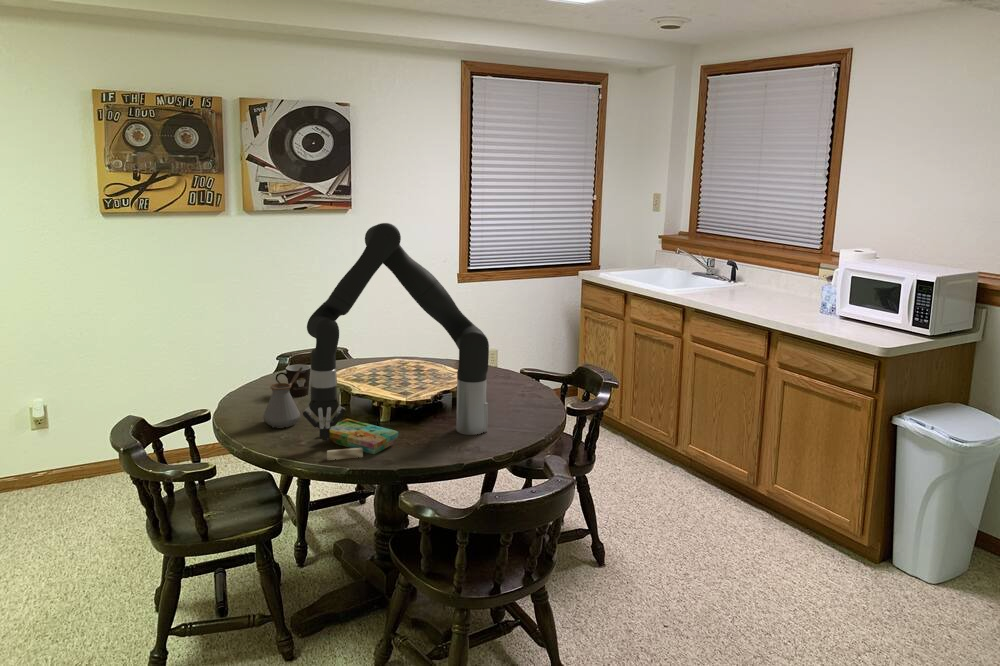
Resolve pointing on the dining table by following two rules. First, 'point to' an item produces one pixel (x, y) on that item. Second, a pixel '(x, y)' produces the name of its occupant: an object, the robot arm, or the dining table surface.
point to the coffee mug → (298, 379)
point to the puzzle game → (362, 436)
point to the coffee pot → (282, 405)
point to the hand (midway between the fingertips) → (324, 439)
